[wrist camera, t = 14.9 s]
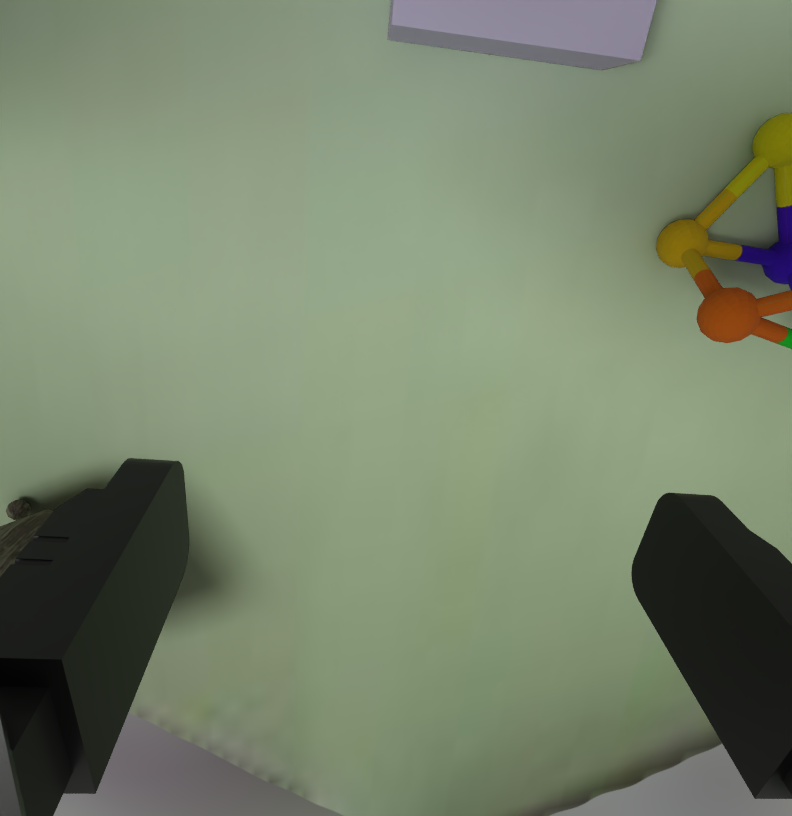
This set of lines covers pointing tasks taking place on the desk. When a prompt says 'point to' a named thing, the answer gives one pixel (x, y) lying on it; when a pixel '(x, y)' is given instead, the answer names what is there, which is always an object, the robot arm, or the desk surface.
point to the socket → (529, 28)
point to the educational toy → (741, 247)
